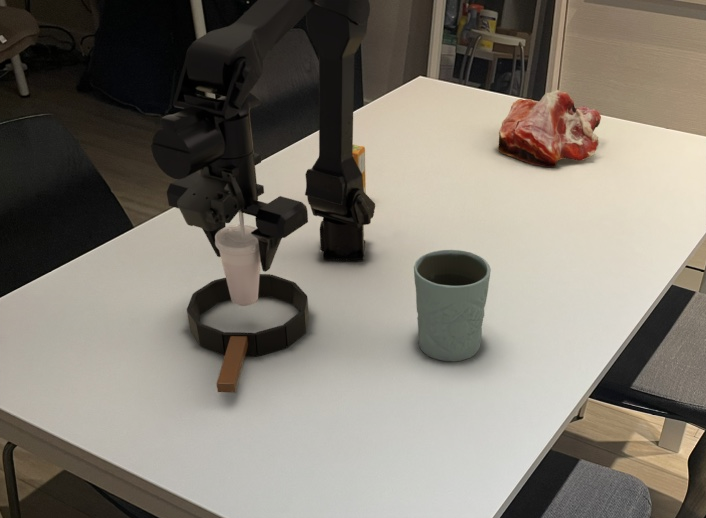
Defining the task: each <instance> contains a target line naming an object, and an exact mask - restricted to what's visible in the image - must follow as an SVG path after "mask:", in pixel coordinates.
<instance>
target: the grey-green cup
mask: <svg viewBox="0 0 706 518" xmlns="http://www.w3.org/2000/svg"><path fill="white" fill-rule="evenodd" d="M491 272H492V269H491V266H490V264H489V263H488V261H487V260H486V259H485V258H484V257H482V256H480V255H478V254H476V253H473V252H470V251H466V250H461V249H460V250H459V249H440V250H435V251H431V252H428V253H425V254H423V255H422V256H420V257H419V258H418V259H416V260H415V263H414V265H413V276H414V277H413V279H414V286H415V298H416V299H415V301H416V303H415V304H416V313H417V317H416V319H417V330H418V331H417V334H418V335H417V337H418V346H419V349H420V350H421V351H422V352H423V354H425V355H426V356H427V357H430V358H431V359H434V360H438V361H443V362H460V361H464V360H468V359H469V358H472V357H473V356H474V355H476V354H477V353H478V352H479V350H480V347H481V342H482V335H483V323H484V317H485V307H486V303H487V299H488V292H489V285H490V277H491Z"/></svg>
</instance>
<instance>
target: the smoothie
mask: <svg viewBox="0 0 706 518" xmlns="http://www.w3.org/2000/svg"><path fill="white" fill-rule="evenodd" d="M244 217H245V216H244V213H242V212H238V221H239V224H232V225H228V226H226V227H224V228H222V229H221V230H219V231H218V232H217V233H216V235H215V245H216V247H217V248H218V249H219V252H220V256H221V257H220V259H221V263H222V268H223V271H224V276H225V278H226V280H227V284H228V288H229V292H230V296H231V302H232V303H233V304H235V305H238V306H250V305H252V304H255V303H256V302H257V301H258V299H259V296H258V291H259V277H260V274H261V261H260V252H259V244H258V239H257V238H256V237H255V236H253V235H252V234H251V232H252V231H254V230H256V229H257V227H256V226H252V225H248V224H245V218H244Z"/></svg>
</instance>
